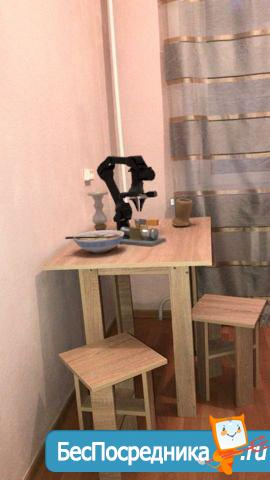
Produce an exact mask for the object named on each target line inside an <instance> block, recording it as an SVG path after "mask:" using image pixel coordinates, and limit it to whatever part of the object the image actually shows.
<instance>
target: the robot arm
mask: <svg viewBox="0 0 270 480" xmlns="http://www.w3.org/2000/svg"><path fill="white" fill-rule="evenodd" d="M116 165H125V166H126V167H129V168H128V170H127V172H128V173H130V176H131V177H130V178H131V180H130V181H131V183H130V188H129V189H128V191H123V192H120V189H119V187H118V185H117V183H116V180H115V178H114V175H115V172H114V170H115V169H116ZM96 174H97V175H98V177H99V178H100V180H102V181H103V182H104V183H105V185H106V187H107V189H108V193H109V194H110V196H111V198H112V201H113V202H114V204H115V207H114V211H115V214H114V216H113V218H112V220H113V222H114V223H115V224H116V231H120V228H121V227H127V228H130V227H131V223H130V221H131V220H132V217H133V214H134V213H133V207H132V206H131V204H130V202H126V201H125V200H124V199H126V198H129V199H128V200H129V201H131V202H132V203H133V205H134V207H135V209H136V211H137V212H142V210H143V208H144V207H143V206H144V203H145V202H146V200H147V199H149V198H150V199H151V198H157V197H158V192H157V191H156V190H149V191H146V192H145V190H144V184H145V183H144V182H145V181H146V182H152V181H154V180H155V179H156V172H155V170H154V169H153V167H152V166H148V165H147V163H146V161H145V160H144V157H143V155H141V154H139V155H137V154H136V155H130V156H116V155H108V156H107V157H106V158H105V159H104V160H103V161H102V162H101V163H99V165H98V166H97V169H96Z"/></svg>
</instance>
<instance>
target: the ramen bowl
mask: <svg viewBox="0 0 270 480" xmlns="http://www.w3.org/2000/svg"><path fill="white" fill-rule="evenodd" d="M123 235H124V232H122V231H117V229H115V230H114V229H109V230H108V229H106V230H101V231H96V230H91V231H86V232H82V233H78V234H75V235H73V236H65V237H64V239H65V240H73V241H74V243H75V244H76V245H77V246H78V247H80V249H82V250H84V251H86V252H91V253H92V254H102V253H106V252H108V251H110V250H112V249H114V248H115V247H117V246H118V245H120V244H119V243H120V241H121V240H122V238H123Z"/></svg>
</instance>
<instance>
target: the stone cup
mask: <svg viewBox="0 0 270 480" xmlns="http://www.w3.org/2000/svg"><path fill="white" fill-rule="evenodd" d="M193 205H194V202H193V200H192V199H189V198H184V197H183V198H177V199H176V200H175V213H176V214H175V215H176V217H174V218H172V220H171V223H172V225H173V226H175V227H188V226H189V225H191V221H190V216H191V213H192V211H193Z"/></svg>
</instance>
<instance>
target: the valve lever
mask: <svg viewBox="0 0 270 480" xmlns="http://www.w3.org/2000/svg"><path fill="white" fill-rule="evenodd" d="M159 221H160V220H159V218H145V219H144V218H136V219H135V218H134V226H136V225H142V226H148V227H149V226H150V227H151V226H152V227H157V226H159V223H160V222H159Z"/></svg>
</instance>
